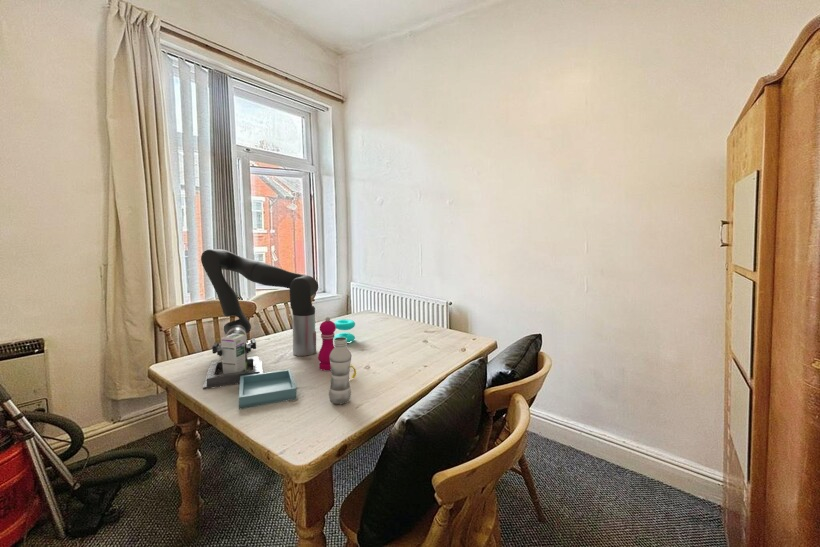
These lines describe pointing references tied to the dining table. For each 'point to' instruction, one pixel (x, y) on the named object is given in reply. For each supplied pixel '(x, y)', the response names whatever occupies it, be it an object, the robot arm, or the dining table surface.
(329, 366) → the pepper mill
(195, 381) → the dining table surface
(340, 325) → the donuts
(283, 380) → the tray
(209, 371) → the metal socket
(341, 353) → the plastic bottle
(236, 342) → the syrup box
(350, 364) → the watch
